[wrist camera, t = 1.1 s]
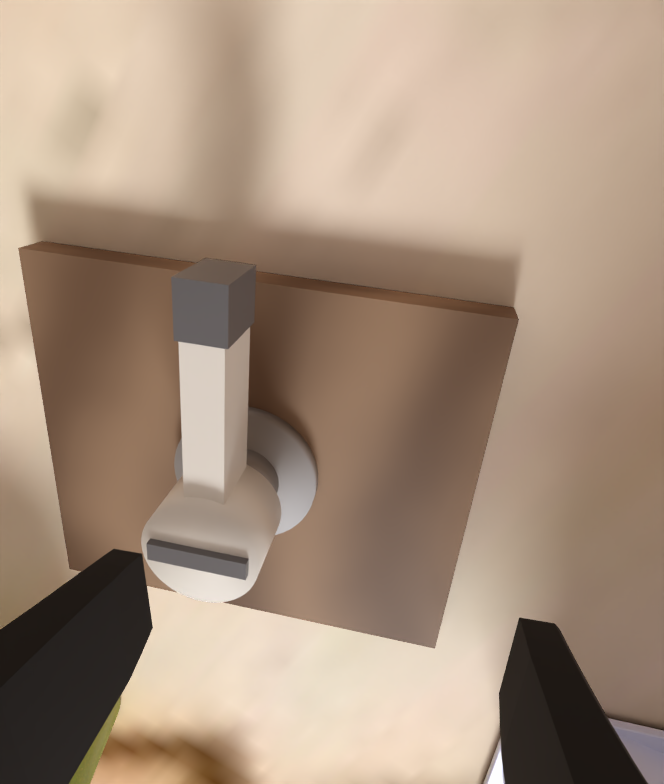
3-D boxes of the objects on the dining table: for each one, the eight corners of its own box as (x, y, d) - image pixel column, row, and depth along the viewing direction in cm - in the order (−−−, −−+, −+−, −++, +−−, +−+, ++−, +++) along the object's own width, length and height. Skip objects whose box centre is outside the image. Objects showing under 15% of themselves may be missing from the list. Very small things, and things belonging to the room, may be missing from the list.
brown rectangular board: (514, 307, 17) (526, 340, 15) (435, 624, 23) (434, 688, 21) (42, 241, 19) (-23, 259, 16) (85, 550, 25) (43, 599, 23)
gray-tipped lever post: (296, 270, 15) (267, 298, 12) (278, 556, 19) (254, 619, 17) (167, 252, 15) (113, 276, 13) (179, 536, 19) (140, 594, 17)
